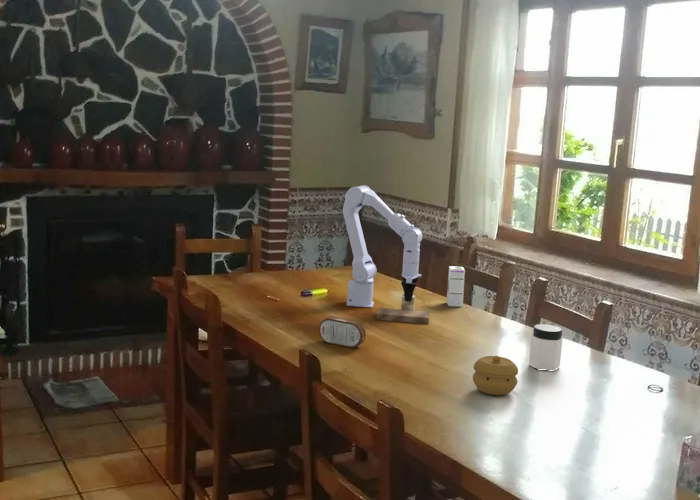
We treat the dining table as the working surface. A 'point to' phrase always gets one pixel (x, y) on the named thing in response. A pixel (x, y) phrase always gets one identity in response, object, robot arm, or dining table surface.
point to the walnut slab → (403, 315)
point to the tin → (342, 332)
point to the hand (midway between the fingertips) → (408, 298)
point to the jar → (546, 347)
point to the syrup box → (455, 286)
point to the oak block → (408, 303)
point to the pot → (495, 375)
